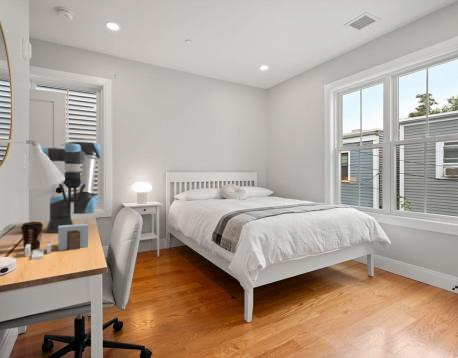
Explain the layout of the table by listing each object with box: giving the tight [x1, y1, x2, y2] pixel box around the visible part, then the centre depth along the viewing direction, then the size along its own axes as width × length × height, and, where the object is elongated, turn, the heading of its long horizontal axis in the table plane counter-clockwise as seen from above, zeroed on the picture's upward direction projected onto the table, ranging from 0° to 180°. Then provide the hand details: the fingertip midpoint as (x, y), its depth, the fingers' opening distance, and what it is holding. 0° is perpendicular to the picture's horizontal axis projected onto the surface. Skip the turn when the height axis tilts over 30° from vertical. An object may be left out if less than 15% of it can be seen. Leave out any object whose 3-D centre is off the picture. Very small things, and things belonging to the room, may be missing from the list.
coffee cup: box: [20, 221, 44, 252], centre depth 125 cm, size 9×8×13 cm
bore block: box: [57, 223, 89, 252], centre depth 129 cm, size 5×13×11 cm, turn 124°
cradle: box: [24, 241, 52, 261], centre depth 117 cm, size 13×10×4 cm
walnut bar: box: [67, 230, 80, 251], centre depth 132 cm, size 14×4×8 cm, turn 36°
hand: (72, 214), depth 142 cm, fingers closed
